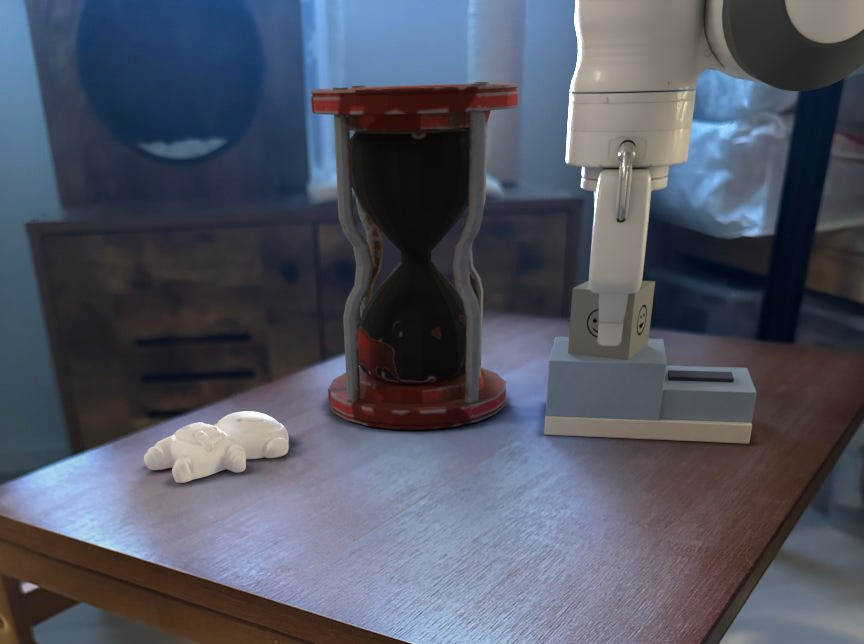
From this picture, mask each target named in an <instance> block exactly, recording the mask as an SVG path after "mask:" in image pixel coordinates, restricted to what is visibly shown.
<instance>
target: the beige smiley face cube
mask: <svg viewBox="0 0 864 644" xmlns="http://www.w3.org/2000/svg"><path fill="white" fill-rule="evenodd" d="M655 286H656V281H653V280H642V283H641V287H640V289H639V291H638V292H637V293H634V294H628V302H627V307H626V312H625V317H624V322H623V331H622V340H621V343H620V344H619V345H618V346H601V345H599V344H598V341H597V339H598V326H599V293H593V292H591V291H590V288H589V279H588V280H586V281H584V282H582V283H581V284H578V285H576V286H574V287H573V288H572V291H571V305H570V318H569V319H570V320H569V333H568V337H569V346H568V353H571V354H580V355H589V356H598V357H607V358H616V359H625V360H629V359H630V358H631V357H633V356H634V355H635V354H637V353H638V352H640V351H641V350H642V349H644V348H645V347H646V346H648V340H649V339H650V330H651V322H652V313H653V303H654V295H655Z"/></svg>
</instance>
